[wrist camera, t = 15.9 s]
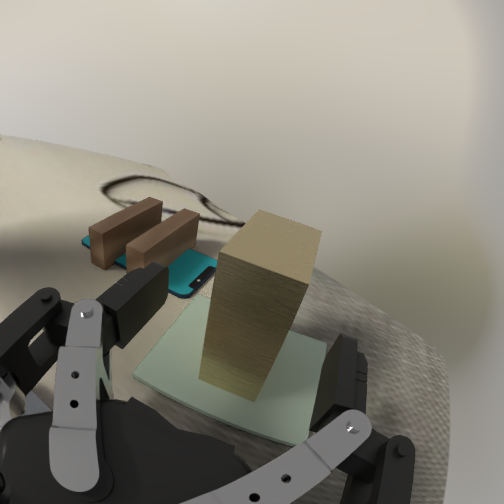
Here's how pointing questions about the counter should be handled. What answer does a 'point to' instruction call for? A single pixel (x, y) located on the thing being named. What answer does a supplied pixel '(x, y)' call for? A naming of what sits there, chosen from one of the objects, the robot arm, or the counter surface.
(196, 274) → the smartphone
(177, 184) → the counter surface
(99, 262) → the phone stand
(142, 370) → the pad
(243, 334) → the brushed brass block
